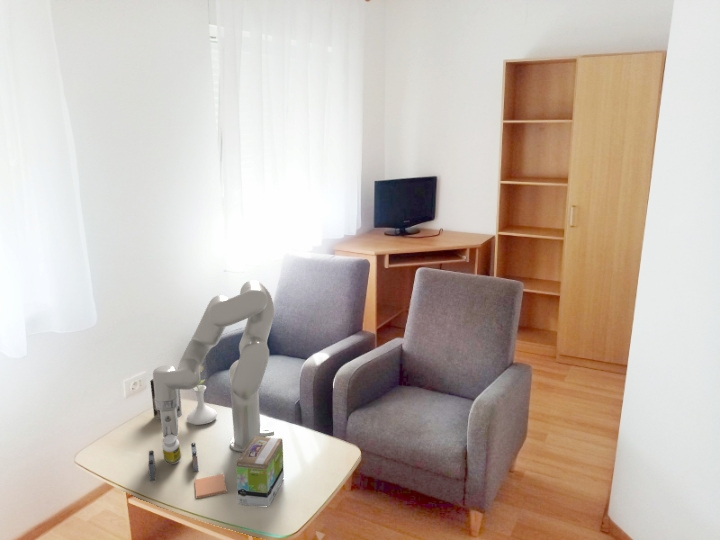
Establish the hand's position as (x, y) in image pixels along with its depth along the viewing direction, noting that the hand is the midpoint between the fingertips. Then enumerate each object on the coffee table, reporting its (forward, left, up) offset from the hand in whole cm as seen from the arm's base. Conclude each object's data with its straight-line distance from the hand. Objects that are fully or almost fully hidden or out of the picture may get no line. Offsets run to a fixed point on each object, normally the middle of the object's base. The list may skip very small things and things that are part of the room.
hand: (171, 450), depth 190 cm
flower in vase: (-11, -23, -2) cm, 25 cm away
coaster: (-11, +23, -2) cm, 26 cm away
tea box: (-26, +31, -2) cm, 41 cm away
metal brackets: (-1, +9, -2) cm, 10 cm away
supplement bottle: (0, +4, -1) cm, 4 cm away
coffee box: (+1, -31, -2) cm, 31 cm away
